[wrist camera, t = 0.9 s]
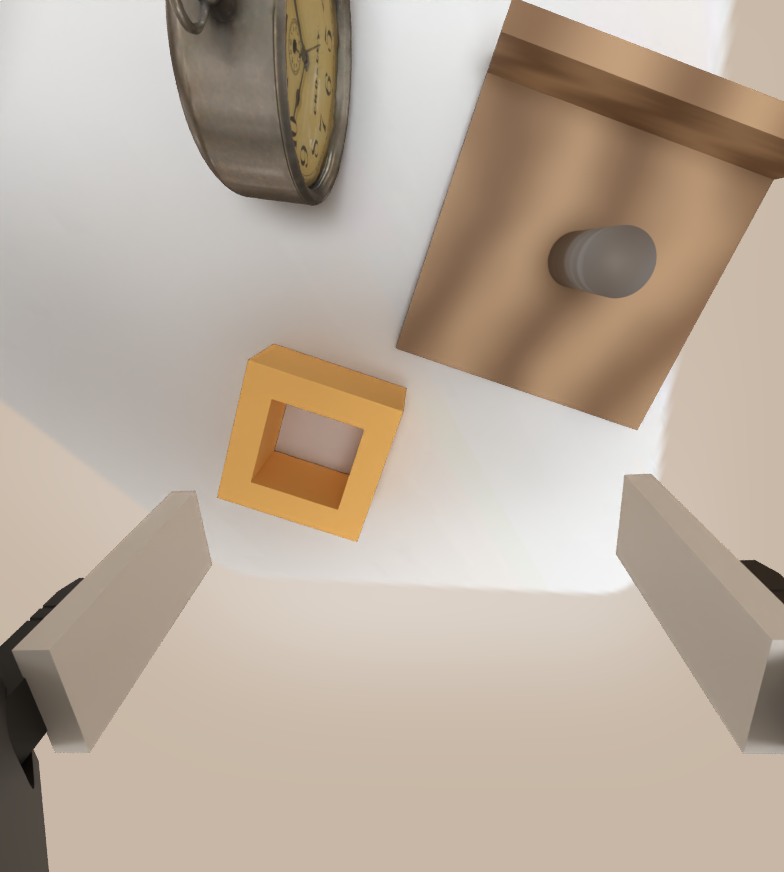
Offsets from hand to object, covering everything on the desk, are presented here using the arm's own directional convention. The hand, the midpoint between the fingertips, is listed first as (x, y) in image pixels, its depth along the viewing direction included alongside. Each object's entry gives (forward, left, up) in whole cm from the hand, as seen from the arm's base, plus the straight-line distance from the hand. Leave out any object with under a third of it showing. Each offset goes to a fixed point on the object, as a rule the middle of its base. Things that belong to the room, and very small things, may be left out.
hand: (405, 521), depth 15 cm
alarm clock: (-11, +13, -18) cm, 25 cm away
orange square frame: (-5, -5, -18) cm, 19 cm away
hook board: (+6, +10, -18) cm, 21 cm away
